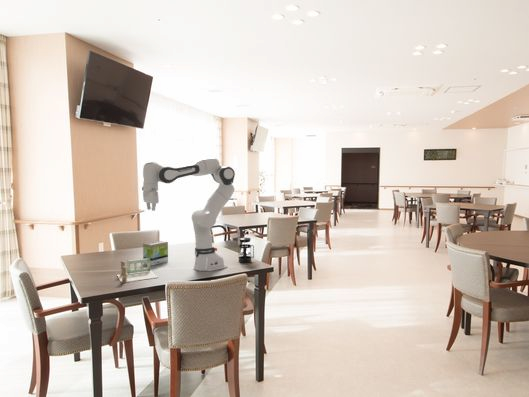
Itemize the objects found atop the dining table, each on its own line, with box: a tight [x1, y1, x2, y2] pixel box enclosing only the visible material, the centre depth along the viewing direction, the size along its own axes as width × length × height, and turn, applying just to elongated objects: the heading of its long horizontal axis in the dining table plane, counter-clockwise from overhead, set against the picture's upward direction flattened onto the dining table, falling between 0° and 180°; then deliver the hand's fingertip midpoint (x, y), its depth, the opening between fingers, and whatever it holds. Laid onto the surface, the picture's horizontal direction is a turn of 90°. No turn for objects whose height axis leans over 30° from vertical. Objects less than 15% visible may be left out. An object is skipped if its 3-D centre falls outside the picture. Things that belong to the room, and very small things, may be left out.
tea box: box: [142, 240, 169, 266], centre depth 265 cm, size 15×10×15 cm
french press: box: [238, 229, 255, 264], centre depth 265 cm, size 12×9×23 cm
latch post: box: [119, 265, 130, 284], centre depth 218 cm, size 4×4×9 cm
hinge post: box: [118, 260, 127, 276], centre depth 231 cm, size 4×4×9 cm
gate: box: [126, 258, 152, 274], centre depth 236 cm, size 14×2×8 cm, turn 120°
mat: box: [116, 270, 159, 283], centre depth 229 cm, size 21×19×1 cm
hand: (151, 210), depth 232 cm, fingers open, 8 cm apart
